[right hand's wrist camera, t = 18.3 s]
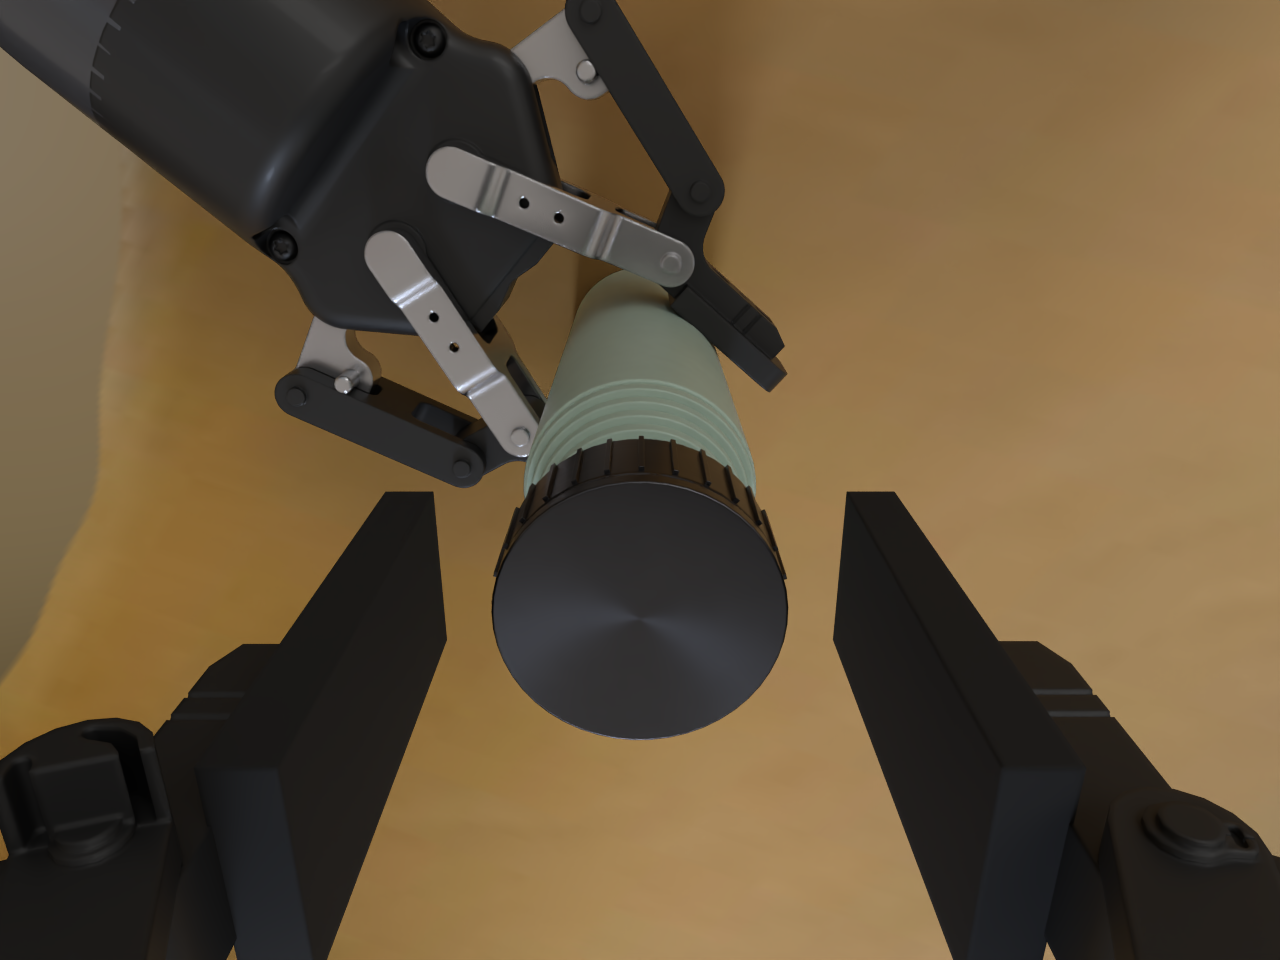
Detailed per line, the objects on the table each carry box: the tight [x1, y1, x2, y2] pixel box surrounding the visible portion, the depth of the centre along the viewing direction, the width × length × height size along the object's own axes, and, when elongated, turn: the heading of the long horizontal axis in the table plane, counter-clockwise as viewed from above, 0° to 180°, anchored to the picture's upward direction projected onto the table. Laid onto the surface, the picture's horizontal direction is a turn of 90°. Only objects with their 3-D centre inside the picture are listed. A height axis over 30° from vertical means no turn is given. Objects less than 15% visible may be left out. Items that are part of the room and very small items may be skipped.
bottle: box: [524, 270, 756, 498], centre depth 22 cm, size 5×5×18 cm
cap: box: [492, 436, 788, 740], centre depth 14 cm, size 4×4×2 cm
